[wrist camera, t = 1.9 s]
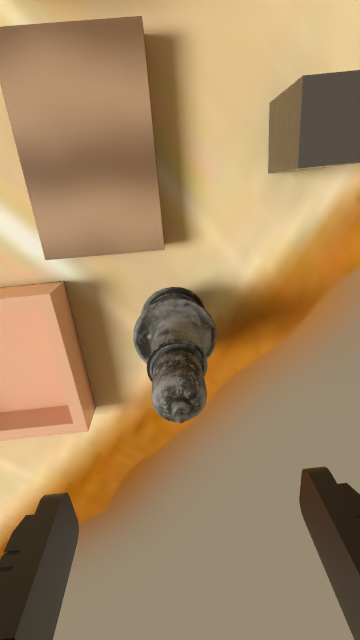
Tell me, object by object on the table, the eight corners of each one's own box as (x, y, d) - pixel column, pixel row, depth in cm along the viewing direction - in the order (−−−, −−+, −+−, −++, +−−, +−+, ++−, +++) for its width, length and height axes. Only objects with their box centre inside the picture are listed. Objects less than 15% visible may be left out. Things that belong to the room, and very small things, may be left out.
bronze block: (8, 48, 18) (-15, 27, 16) (144, 38, 18) (141, 15, 16) (57, 252, 23) (45, 260, 20) (164, 243, 23) (164, 249, 20)
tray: (-95, 297, 23) (-131, 312, 20) (63, 281, 23) (49, 293, 20) (-36, 421, 28) (-58, 446, 25) (95, 407, 28) (88, 431, 25)
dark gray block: (269, 103, 19) (303, 75, 15) (332, 96, 19) (385, 67, 15) (268, 173, 21) (297, 168, 16) (326, 167, 21) (372, 161, 16)
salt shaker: (224, 315, 25) (272, 417, 14) (175, 362, 26) (183, 487, 15) (171, 268, 23) (177, 340, 12) (122, 320, 25) (88, 427, 14)
